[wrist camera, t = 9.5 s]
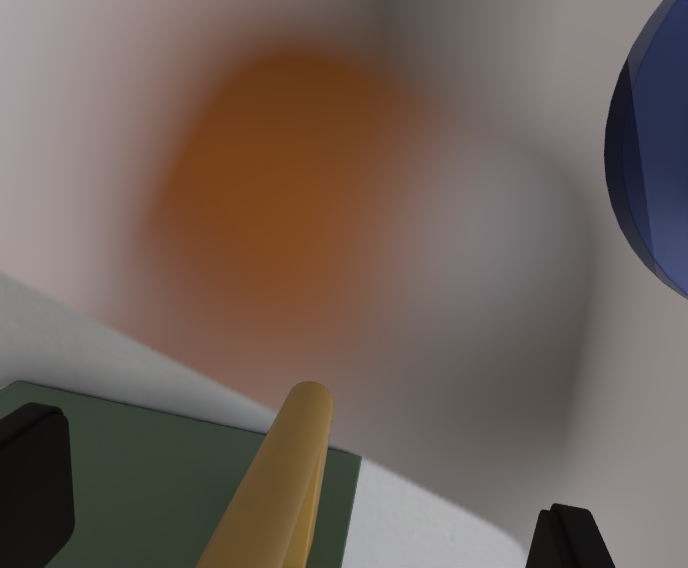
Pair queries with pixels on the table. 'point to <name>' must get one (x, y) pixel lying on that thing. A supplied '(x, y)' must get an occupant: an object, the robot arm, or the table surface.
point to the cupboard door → (201, 486)
